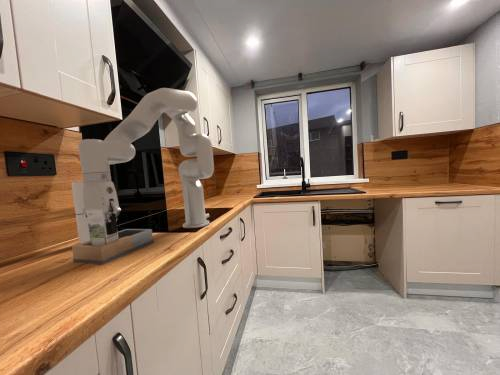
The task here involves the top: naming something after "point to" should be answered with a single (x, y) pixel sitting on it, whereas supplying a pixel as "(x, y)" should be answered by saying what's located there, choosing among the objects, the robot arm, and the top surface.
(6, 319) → the top surface
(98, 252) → the shallow storage tray
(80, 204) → the cylindrical container
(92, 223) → the syrup box
